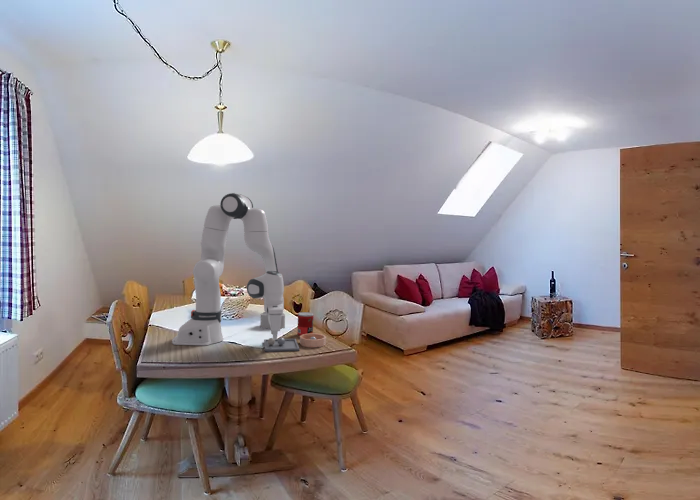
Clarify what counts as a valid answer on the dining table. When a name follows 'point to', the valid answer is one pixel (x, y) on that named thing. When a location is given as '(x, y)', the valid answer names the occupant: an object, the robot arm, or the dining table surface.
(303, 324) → the canned food
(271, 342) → the pebble
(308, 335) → the bowl
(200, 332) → the robot arm
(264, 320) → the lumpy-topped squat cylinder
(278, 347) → the tray
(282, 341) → the pebble
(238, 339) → the dining table surface
